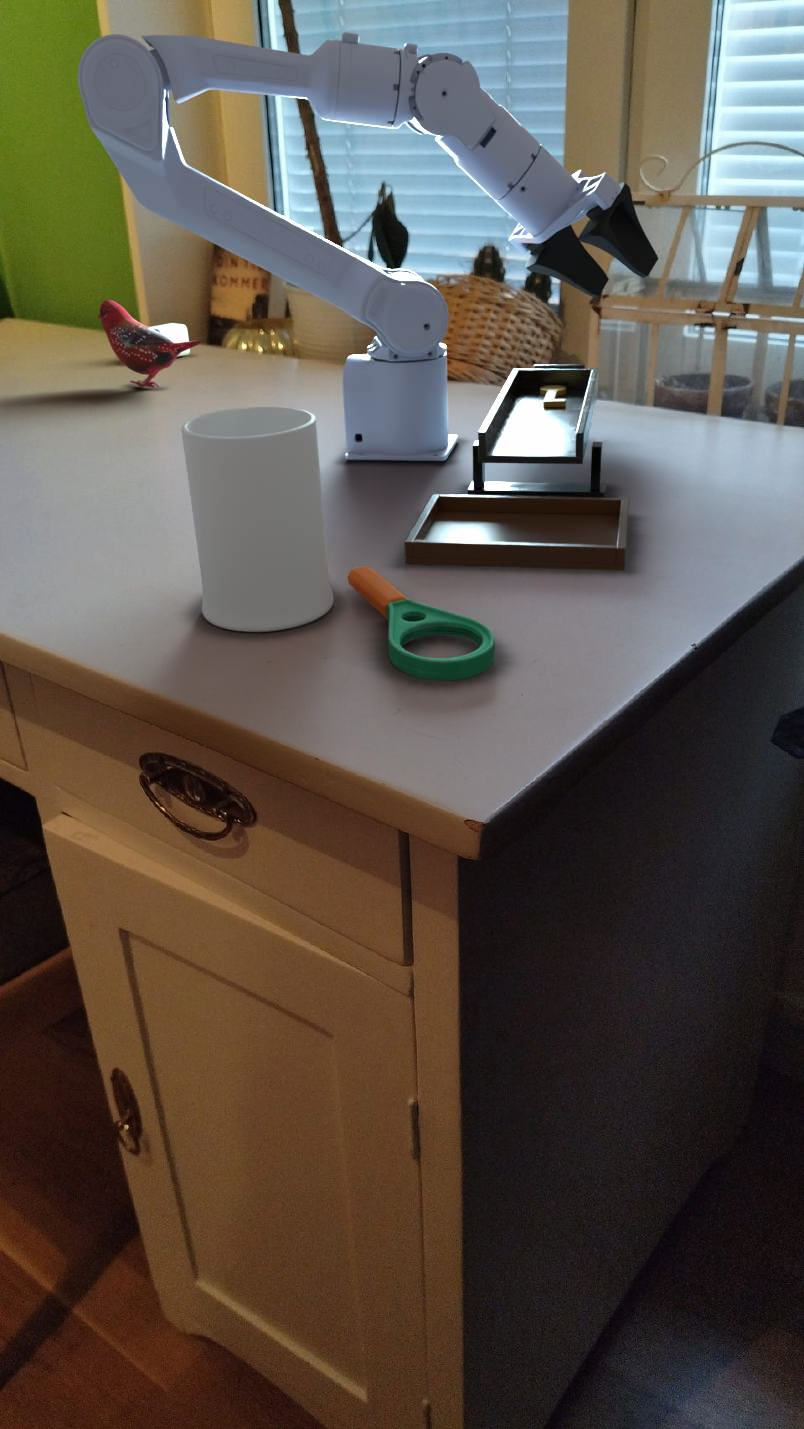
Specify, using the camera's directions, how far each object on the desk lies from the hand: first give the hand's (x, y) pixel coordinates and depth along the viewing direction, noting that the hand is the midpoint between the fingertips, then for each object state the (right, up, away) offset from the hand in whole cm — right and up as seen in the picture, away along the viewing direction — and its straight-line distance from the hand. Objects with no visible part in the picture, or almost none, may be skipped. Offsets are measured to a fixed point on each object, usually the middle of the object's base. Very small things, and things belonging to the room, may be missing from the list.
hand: (625, 279), depth 100 cm
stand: (-9, -21, -8) cm, 24 cm away
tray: (-12, -27, -19) cm, 34 cm away
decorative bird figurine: (-50, 0, +35) cm, 61 cm away
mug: (-30, -32, -27) cm, 51 cm away
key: (-7, -11, +1) cm, 12 cm away
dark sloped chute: (-7, -13, -3) cm, 15 cm away
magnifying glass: (-20, -34, -32) cm, 51 cm away
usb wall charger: (-54, +12, +51) cm, 75 cm away
